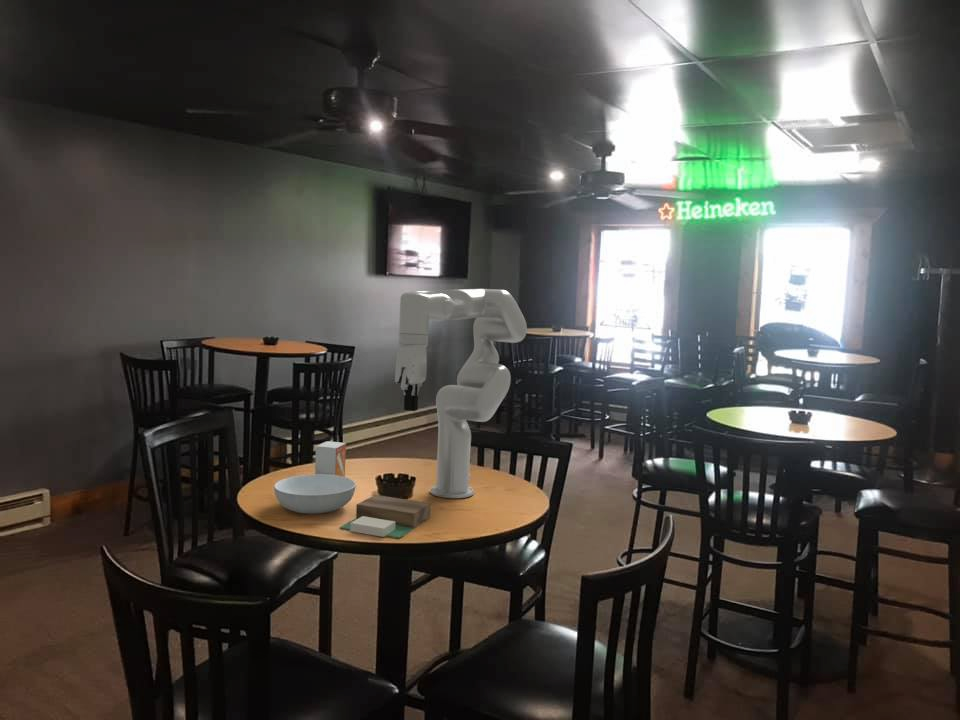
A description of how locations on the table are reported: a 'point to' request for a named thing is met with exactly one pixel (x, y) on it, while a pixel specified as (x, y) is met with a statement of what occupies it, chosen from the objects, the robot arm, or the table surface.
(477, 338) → the robot arm
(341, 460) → the small box
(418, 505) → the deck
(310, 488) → the serving bowl
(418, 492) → the table surface
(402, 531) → the mat
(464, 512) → the table surface
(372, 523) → the light grey flat block
